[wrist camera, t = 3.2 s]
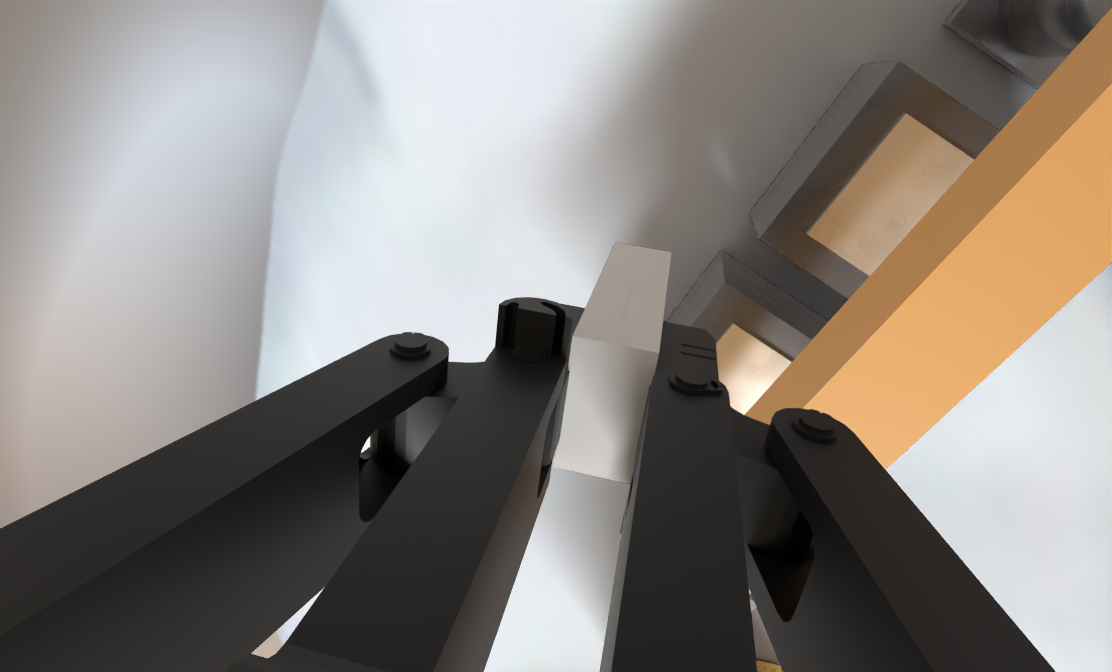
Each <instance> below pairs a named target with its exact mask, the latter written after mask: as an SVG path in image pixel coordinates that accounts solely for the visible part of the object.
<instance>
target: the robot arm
mask: <svg viewBox="0 0 1112 672" xmlns="http://www.w3.org/2000/svg"><path fill="white" fill-rule="evenodd" d="M671 253H672V252H668V251H662V250H656V249H651V248H645V247H639V246H633V245H627V244H622V243H616V242H615V244H614V246H613V248H612V250H611V253H610V255H609V257H608V259H607V261H606V264H605V266H604V268H603V270H602V272H601V275H600V277H599V279H598V281H597V283H596V286H595V288H594V290H593V292H592V294H591V297H590V299H589V301H588V303H587V305H586V308H581V307H575V306H570V305H565V304H559V303H557V302H553V301H550V300H546V299H540V298H531V297H524V298H513V299H509V300H505V301H504V302H502V303H501V304H499V311H498V322H497V333H496V343H495V348H494V349H493V351H492V352H491V353H490V355H489V356H488V358H487V359H486V360H485V362H477V363H463V362H448V357H449V348H448V347H447V345H446V344H445V343H444V342H443V341H440V340H438V339H436V338H434V337H431V336H426V335H424V334H422V333H414V334H412V332H405V333H402V334H396V335H390V336H387V337H384V338H381V339H379V340H377V341H375V342H373V343H371V344H369V345H367V346H365V347H363V348H361V349H359V350H357V351H355V352H353V353H351V354H349V355H347V356H345V357H343V358H341V359H339V360H337V361H335V362H333V363H331V364H329V365H327V366H325V367H323V368H321V369H319V370H317V371H315V372H313V373H311V374H309V375H307V376H305V377H303V378H301V379H299V380H297V381H295V382H293V383H291V384H289V385H287V386H285V387H283V388H281V389H279V390H277V391H275V392H273V393H271V394H269V395H267V396H265V397H263V398H261V399H259V400H257V401H255V402H253V403H251V404H249V405H247V406H245V407H243V408H241V409H239V410H237V411H235V412H233V413H231V414H229V415H227V416H225V417H223V418H221V419H219V420H217V421H215V422H213V423H211V424H209V425H207V426H205V427H203V428H201V429H199V430H197V431H195V432H193V433H191V434H189V435H187V436H185V437H183V438H181V439H179V440H177V441H175V442H173V443H171V444H169V445H167V446H165V447H163V448H161V449H159V450H157V451H155V452H153V453H151V454H149V455H147V456H145V457H143V458H141V459H139V460H137V461H135V462H133V463H131V464H129V465H127V466H125V467H123V468H121V469H119V470H117V471H115V472H113V473H111V474H109V475H107V476H105V477H103V478H101V479H99V480H97V481H95V482H93V483H91V484H89V485H87V486H85V487H83V488H81V489H79V490H77V491H75V492H73V493H71V494H69V495H67V496H65V497H63V498H61V499H59V500H57V501H55V502H53V503H51V504H49V505H47V506H45V507H43V508H41V509H39V510H37V511H35V512H33V513H31V514H29V515H27V516H25V517H23V518H21V519H19V520H17V521H15V522H13V523H11V524H9V525H7V526H5V527H3V528H1V529H0V672H483V671H484V669H485V666H486V663H487V660H488V657H489V654H490V651H491V648H492V645H493V643H494V640H495V637H496V634H497V631H498V628H499V625H500V622H501V620H502V617H503V614H504V611H505V608H506V605H507V602H508V599H509V596H510V594H511V591H512V588H513V585H514V582H515V579H516V576H517V573H518V570H519V568H520V565H521V562H522V559H523V556H524V553H525V550H526V547H527V544H528V542H529V539H530V536H531V533H532V530H533V527H534V524H535V521H536V518H537V516H538V513H539V510H540V507H541V504H542V501H543V498H544V495H545V492H546V490H547V487H548V484H549V479H550V472H551V465H552V459H553V456H554V453H555V459H554V466H553V467H556V468H561V469H565V470H570V471H574V472H578V473H583V474H587V475H592V476H596V477H601V478H605V479H610V480H614V481H619V482H623V483H628V484H630V489H629V493H628V498H627V503H626V508H625V513H624V517H623V522H622V527H621V532H620V533H622V535H621V542H620V548H619V554H618V560H617V567H616V573H615V579H614V585H613V592H612V598H611V604H610V610H609V616H608V623H607V629H606V635H605V641H604V648H603V654H602V660H601V666H600V672H757V664H756V654H755V644H754V635H753V625H752V615H751V605H750V595H749V590H750V592H751V594H752V597H753V599H754V602H755V604H756V607H757V609H758V612H759V614H760V617H761V619H762V621H763V624H764V626H765V629H766V631H767V634H768V636H769V639H770V641H771V644H772V646H773V649H774V651H775V653H776V656H777V658H778V661H779V663H780V666H781V668H782V671H783V672H1055V670H1054V669H1053V668H1052V667H1051V666H1050V664H1049V663H1048V662H1047V661H1046V660H1045V658H1044V657H1043V656H1042V655H1041V654H1040V653H1039V651H1038V650H1037V649H1036V648H1035V647H1034V645H1033V644H1032V643H1031V642H1030V641H1029V640H1028V638H1027V637H1026V636H1025V635H1024V634H1023V632H1022V631H1021V630H1020V629H1019V628H1018V626H1017V625H1016V624H1015V623H1014V622H1013V621H1012V619H1011V618H1010V617H1009V616H1008V615H1007V613H1006V612H1005V611H1004V610H1003V609H1002V607H1001V606H1000V605H999V604H998V603H997V602H996V600H995V599H994V598H993V597H992V596H991V594H990V593H989V592H988V591H987V590H986V588H985V587H984V586H983V585H982V584H981V583H980V581H979V580H978V579H977V578H976V577H975V575H974V574H973V573H972V572H971V571H970V570H969V568H968V567H967V566H966V565H965V564H964V562H963V561H962V560H961V559H960V558H959V556H958V555H957V554H956V553H955V552H954V551H953V549H952V548H951V547H950V546H949V545H948V543H947V542H946V541H945V540H944V539H943V537H942V536H941V535H940V534H939V533H938V532H937V530H936V529H935V528H934V527H933V526H932V524H931V523H930V522H929V521H928V520H927V518H926V517H925V516H924V515H923V514H922V513H921V511H920V510H919V509H918V508H917V507H916V505H915V504H914V503H913V502H912V501H911V500H910V498H909V497H908V496H907V495H906V494H905V492H904V491H903V490H902V489H901V488H900V486H899V485H898V484H897V483H896V482H895V481H894V479H893V478H892V477H891V476H890V475H889V473H888V472H887V471H886V470H885V469H884V467H883V466H882V465H881V464H880V463H879V462H878V460H877V459H876V458H875V457H874V456H873V454H872V453H871V452H870V451H869V450H868V449H867V447H866V446H865V445H864V444H863V443H862V441H861V440H860V439H859V438H858V437H857V435H856V434H855V433H854V432H853V431H852V430H850V429H849V428H848V427H847V426H846V425H845V424H843V423H841V422H840V421H838V420H836V419H834V418H832V416H830V415H828V414H826V413H823V412H822V413H820V411H817V410H813V409H809V410H807V409H802V408H784V409H782V410H779V411H776V412H775V414H774V415H773V417H772V420H771V423H770V425H769V424H766V423H763V422H761V421H758V420H755V419H753V418H750V417H748V416H746V415H743V414H742V413H740V412H738V411H737V410H735V409H733V408H732V407H731V406H730V398H729V392H728V390H727V388H726V386H725V385H724V384H723V383H721V382H720V381H719V376H718V363H717V352H716V340H715V339H714V338H713V337H712V336H711V335H710V333H709V332H708V331H707V330H706V329H702V328H696V327H691V326H686V325H680V324H675V323H670V322H664V321H663V318H664V310H665V302H666V293H667V285H668V277H669V269H670V261H671ZM369 437H370V447H369V448H368V449H367V450H365V451H364V452H362V453H361V450H362V448H363V446H364V444H365V442H366V440H367V439H368V438H369ZM555 451H556V452H555ZM324 587H325V588H324ZM323 588H324V589H323ZM322 589H323V591H322V592H321V593H320V595H319V596H318V598H317V599H316V600H315V602H314V603H313V605H312V606H311V607H310V609H309V610H308V612H307V613H306V615H305V616H304V617H303V619H302V620H301V622H300V623H299V624H298V626H297V627H296V629H295V630H294V631H293V633H292V634H291V636H290V637H289V639H288V640H287V641H286V643H285V644H284V645H283V646H282V647H281V649H280V650H279V651H278V652H277V653H276V654H275V655H273V656H271V657H270V658H264V657H260V656H256V655H253V654H251V653H252V652H253V651H254V650H255V649H256V648H257V647H259V646H260V645H261V644H262V643H263V642H264V641H265V640H266V639H267V638H269V637H270V636H271V635H272V634H273V633H274V632H275V631H276V630H277V629H279V628H280V627H281V626H282V625H283V624H284V623H285V622H286V621H287V620H288V619H290V618H291V617H292V616H293V615H294V614H295V613H296V612H297V611H298V610H300V609H301V608H302V607H303V606H304V605H305V604H306V603H307V602H308V601H310V600H311V599H312V598H313V597H314V596H315V595H316V594H317V593H318V592H319V591H321V590H322Z"/></svg>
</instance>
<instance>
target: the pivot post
mask: <svg viewBox="0 0 1112 672" xmlns="http://www.w3.org/2000/svg"><path fill="white" fill-rule="evenodd" d="M1111 8H1112V0H962V1H961V2H960V3H959V5H958V6H957V7H956V8H955V10H954V11H953V12H952V13H951V15H950V16H949V17H948V18H947V20H946V21H945V22H944V24H943V25H945V26H946V27H948V28H949V29H951V30H952V31H954V32H955V33H957V34H958V35H959V36H961V37H962V38H964V39H965V40H967V41H968V42H970V43H971V44H972V45H974V46H975V47H977V48H978V49H980V50H981V51H983V52H984V53H986V54H987V55H988V56H990V57H991V58H993V59H994V60H996V61H997V62H999V63H1000V64H1001V65H1003V66H1004V67H1006V68H1007V69H1009V70H1010V71H1012V72H1013V73H1015V74H1016V75H1017V76H1019V77H1020V78H1022V79H1023V80H1025V81H1026V82H1028V83H1029V84H1030V85H1032V86H1033V87H1035V88H1036V89H1039V88H1040V87H1041V86H1042V84H1043V83H1044V82H1045V81H1046V80H1047V79H1048V78H1049V77H1050V76H1051V74H1052V73H1053V72H1054V71H1055V70H1056V69H1057V68H1058V67H1059V66H1060V65H1061V63H1062V62H1063V61H1064V60H1065V59H1066V58H1067V57H1068V56H1069V55H1070V53H1071V52H1072V51H1073V50H1074V49H1075V48H1076V47H1077V46H1078V45H1079V43H1080V42H1081V41H1082V40H1083V39H1084V38H1085V37H1086V36H1087V35H1088V33H1089V32H1090V31H1091V30H1092V29H1093V28H1094V27H1095V26H1096V25H1097V23H1098V22H1099V21H1100V20H1101V19H1102V18H1103V17H1104V16H1105V15H1106V14H1107V12H1108V11H1109V10H1110V9H1111Z"/></svg>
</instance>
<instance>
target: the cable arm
mask: <svg viewBox="0 0 1112 672" xmlns="http://www.w3.org/2000/svg"><path fill="white" fill-rule="evenodd" d="M1111 262H1112V8H1111V9H1110V10H1109V11H1108V12H1107V14H1106V15H1105V16H1104V17H1103V18H1102V19H1101V20H1100V21H1099V22H1098V23H1097V25H1096V26H1095V27H1094V28H1093V29H1092V30H1091V31H1090V32H1089V33H1088V35H1087V36H1086V37H1085V38H1084V39H1083V40H1082V41H1081V42H1080V43H1079V45H1078V46H1077V47H1076V48H1075V49H1074V50H1073V51H1072V52H1071V53H1070V55H1069V56H1068V57H1067V58H1066V59H1065V60H1064V61H1063V62H1062V63H1061V65H1060V66H1059V67H1058V68H1057V69H1056V70H1055V71H1054V72H1053V73H1052V74H1051V76H1050V77H1049V78H1048V79H1047V80H1046V81H1045V82H1044V83H1043V84H1042V86H1041V87H1040V88H1039V89H1038V90H1037V91H1036V92H1035V93H1034V94H1033V96H1032V97H1031V98H1030V99H1029V100H1028V101H1027V102H1026V103H1025V104H1024V106H1023V107H1022V108H1021V109H1020V110H1019V111H1018V112H1017V113H1016V114H1015V115H1014V117H1013V118H1012V119H1011V120H1010V121H1009V122H1008V123H1007V124H1006V125H1005V127H1004V128H1003V129H1002V130H1001V131H1000V132H999V133H998V134H997V135H996V137H995V138H994V139H993V140H992V141H991V142H990V143H989V144H988V145H987V147H986V148H985V149H984V150H983V151H982V152H981V153H980V154H979V155H978V156H977V158H976V159H975V160H974V161H973V162H972V163H971V164H970V165H969V166H968V168H967V169H966V170H965V171H964V172H963V173H962V174H961V175H960V176H959V178H958V179H957V180H956V181H955V182H954V183H953V184H952V185H951V186H950V188H949V189H948V190H947V191H946V192H945V193H944V194H943V195H942V196H941V197H940V199H939V200H938V201H937V202H936V203H935V204H934V205H933V206H932V207H931V209H930V210H929V211H928V212H927V213H926V214H925V215H924V216H923V217H922V219H921V220H920V221H919V222H918V223H917V224H916V225H915V226H914V227H913V229H912V230H911V231H910V232H909V233H908V234H907V235H906V236H905V237H904V239H903V240H902V241H901V242H900V243H899V244H898V245H897V246H896V247H895V248H894V250H893V251H892V252H891V253H890V254H889V255H888V256H887V257H886V258H885V260H884V261H883V262H882V263H881V264H880V265H879V266H878V267H877V268H876V270H875V271H874V272H873V273H872V274H871V275H870V276H869V277H868V278H867V280H866V281H865V282H864V283H863V284H862V285H861V286H860V287H859V288H858V289H857V291H856V292H855V293H854V294H853V295H852V296H851V297H850V298H849V299H848V301H847V302H846V303H845V304H844V305H843V306H842V307H841V308H840V309H839V311H838V312H837V313H836V314H835V315H834V316H833V317H832V318H831V319H830V321H829V322H828V323H827V324H826V325H825V326H824V327H823V328H822V329H821V330H820V332H819V333H818V334H817V335H816V336H815V337H814V338H813V339H812V340H811V342H810V343H809V344H808V345H807V346H806V347H805V348H804V349H803V350H802V352H801V353H800V354H799V355H798V356H797V357H796V358H795V359H794V360H793V362H792V363H791V364H790V365H789V366H788V367H787V368H786V369H785V370H784V371H783V373H782V374H781V375H780V376H779V377H778V378H777V379H776V380H775V381H774V383H773V384H772V385H771V386H770V387H769V388H768V389H767V390H766V391H765V393H764V394H763V395H762V396H761V397H760V398H759V399H758V400H757V401H756V403H755V404H754V405H753V406H752V407H751V408H750V409H749V410H748V411H747V413H746V414H745V415H746V416H748V417H750V418H753V419H755V420H758V421H761V422H763V423H766V424H769V425H770V423H771V420H772V417H773V415H774V414H775V412H776V411H779V410H782V409H784V408H802V409H807V410H809V409H813V410H817V411H820V413H822V412H823V413H826V414H828V415H830V416H832V418H834V419H836V420H838V421H840V422H841V423H843V424H845V425H846V426H847V427H848V428H849V429H850V430H852V431H853V432H854V433H855V434H856V435H857V437H858V438H859V439H860V440H861V441H862V443H863V444H864V445H865V446H866V447H867V449H868V450H869V451H870V452H871V453H872V454H873V456H874V457H875V458H876V459H877V460H878V462H879V463H880V464H881V465H882V466H883V467H884V469H885V470H886V469H887V468H888V467H889V466H890V465H891V464H892V463H893V462H894V461H895V460H897V459H898V458H899V457H900V456H901V455H902V454H903V453H904V452H905V451H906V450H907V449H909V448H910V447H911V446H912V445H913V444H914V443H915V442H916V441H917V440H918V439H919V438H921V437H922V436H923V435H924V434H925V433H926V432H927V431H928V430H929V429H930V428H931V427H933V426H934V425H935V424H936V423H937V422H938V421H939V420H940V419H941V418H942V417H943V416H945V415H946V414H947V413H948V412H949V411H950V410H951V409H952V408H953V407H954V406H955V405H957V404H958V403H959V402H960V401H961V400H962V399H963V398H964V397H965V396H966V395H967V394H969V393H970V392H971V391H972V390H973V389H974V388H975V387H976V386H977V385H978V384H979V383H981V382H982V381H983V380H984V379H985V378H986V377H987V376H988V375H989V374H990V373H991V372H993V371H994V370H995V369H996V368H997V367H998V366H999V365H1000V364H1001V363H1002V362H1003V361H1005V360H1006V359H1007V358H1008V357H1009V356H1010V355H1011V354H1012V353H1013V352H1014V351H1015V350H1016V349H1018V348H1019V347H1020V346H1021V345H1022V344H1023V343H1024V342H1025V341H1026V340H1027V339H1028V338H1030V337H1031V336H1032V335H1033V334H1034V333H1035V332H1036V331H1037V330H1038V329H1039V328H1040V327H1042V326H1043V325H1044V324H1045V323H1046V322H1047V321H1048V320H1049V319H1050V318H1051V317H1052V316H1054V315H1055V314H1056V313H1057V312H1058V311H1059V310H1060V309H1061V308H1062V307H1063V306H1064V305H1066V304H1067V303H1068V302H1069V301H1070V300H1071V299H1072V298H1073V297H1074V296H1075V295H1076V294H1078V293H1079V292H1080V291H1081V290H1082V289H1083V288H1084V287H1085V286H1086V285H1087V284H1088V283H1090V282H1091V281H1092V280H1093V279H1094V278H1095V277H1096V276H1097V275H1098V274H1099V273H1100V272H1102V271H1103V270H1104V269H1105V268H1106V267H1107V266H1108V265H1109V264H1110V263H1111ZM749 595H750V605H751V612H752V611H753V610H754V609H756V608H757V607H756V604H755V602H754V599H753V597H752V594H751V592H750V590H749Z"/></svg>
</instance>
